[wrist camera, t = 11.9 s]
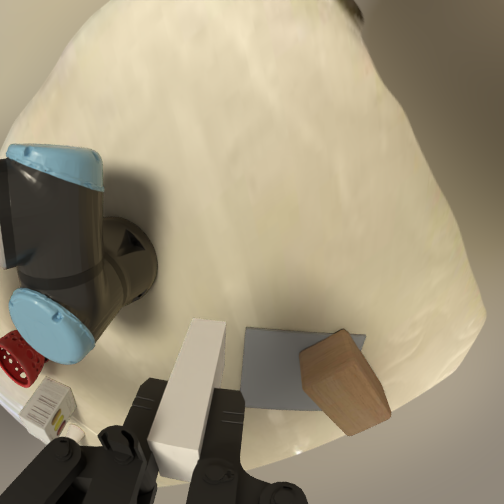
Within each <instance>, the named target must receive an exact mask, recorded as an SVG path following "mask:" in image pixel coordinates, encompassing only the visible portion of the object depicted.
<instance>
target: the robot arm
mask: <svg viewBox="0 0 504 504" xmlns="http://www.w3.org/2000/svg"><path fill="white" fill-rule="evenodd" d="M6 157H7V158H6V159H0V267H1V268H2V269H3V270H5V269H9V268H13V267H16V266H17V270H18V275H19V280H20V288H18V289H16V290H15V291H14V292H13V295H12V296H11V299H10V301H9V311H10V316H11V318H12V321H13V323H14V325H15V327H16V329H17V330H18V332H19V333H20V334H21V336H22V337H23V338H24V339H25V341H26V342H27V343H28V344H29V345H30V346H32V348H34V349H35V350H36V351H37V352H38V353H40V354H41V355H43V356H44V357H46V358H48V359H50V360H52V361H54V362H57V363H60V364H65V365H71V364H76V363H77V362H79V361H81V360H82V359H83V358H84V357H85V356H86V355H87V354H88V353H89V352H90V351H91V350H92V349H93V348H94V347H95V343H96V342H97V340H98V339H99V338H100V336H101V335H102V333H103V332H104V331H105V329H106V328H107V327H108V325H109V324H110V323H111V321H112V320H113V318H114V317H115V316H116V314H117V313H118V312H119V310H120V309H121V308H122V307H123V306H126V305H128V304H130V303H132V302H134V301H136V300H138V299H140V298H141V297H142V296H144V295H145V294H146V292H147V291H148V290H149V288H150V287H151V286H152V284H153V282H154V280H155V278H156V274H157V258H156V254H155V250H154V248H153V246H152V244H151V242H150V240H149V238H148V237H147V236H146V234H145V233H144V232H143V231H142V230H141V229H140V228H139V227H138V226H136V225H135V224H133V223H132V222H130V221H128V220H126V219H123V218H119V217H105V218H103V192H104V190H105V189H104V187H103V164H102V159H101V157H100V155H99V154H98V153H97V152H96V151H95V150H92V149H89V148H82V147H74V146H63V145H50V144H11V145H10V146H9V147H8V150H7V152H6ZM225 338H226V322H225V321H216V320H208V319H200V318H192V321H191V323H190V326H189V328H188V331H187V334H186V336H185V339H184V341H183V344H182V346H181V349H180V352H179V354H178V357H177V360H176V362H175V365H174V367H173V370H172V373H171V375H170V378H169V381H165V380H159V379H154V378H149V379H148V380H146V381H145V382H144V383H143V384H142V385H141V386H140V388H139V390H138V392H137V395H136V398H135V399H134V401H133V404H132V406H131V408H130V410H129V413H128V415H127V417H126V419H125V422H124V424H123V426H118V425H114V426H109V427H107V428H105V429H103V430H102V431H101V432H100V433H99V435H98V438H99V440H100V442H101V444H102V445H103V446H98V447H94V446H79V444H78V443H77V442H76V441H75V440H73V439H71V438H69V437H58V438H55V439H53V440H52V441H51V442H49V444H48V445H47V446H46V447H45V448H44V449H43V450H42V451H41V452H40V453H39V454H38V455H37V457H36V458H35V459H34V460H33V461H32V462H31V463H30V464H29V465H28V466H27V467H26V468H25V469H24V470H23V472H22V473H21V474H20V475H19V476H18V477H17V478H16V479H15V480H14V481H13V482H12V484H11V485H10V486H9V487H8V488H7V489H6V490H5V491H4V492H3V493H2V494H1V496H0V504H153V503H154V499H155V495H156V492H157V483H156V478H157V475H158V471H159V473H160V476H163V477H167V478H172V479H176V480H181V481H187V482H190V487H189V492H188V497H187V502H186V504H308V502H307V499H306V496H305V494H304V492H303V491H302V489H301V488H299V487H298V486H296V485H295V484H292V483H289V482H276V483H273V484H270V483H267V482H264V481H261V480H258V479H256V478H254V477H252V476H250V475H249V474H248V473H246V472H245V470H244V469H243V468H242V466H241V463H240V451H241V441H242V431H243V421H244V411H245V400H244V397H243V395H242V393H241V391H236V390H228V389H220V386H221V381H222V376H223V370H224V362H225Z"/></svg>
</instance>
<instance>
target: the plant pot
mask: <svg viewBox="0 0 504 504" xmlns="http://www.w3.org/2000/svg"><path fill="white" fill-rule="evenodd" d="M1 348H3V349H2V350H1ZM6 351H7V352H9V353H10V355H8V354H7V352H6ZM4 355H5V356H6V358H5V359H4ZM9 359H12V363H10V362H9ZM49 360H50V359H48V358H46V357H44V356H43V355H41V354H40V353H38V352H37V351H36V350H35V349H34V348H32V346H30V345H29V344H28V343H27V342H26V341H25V339H24V338H23V337H22V336H21V334H20V333H19V332H18V330H14V331H11V332H9V333H8V334H6V335H5V336H4V337H2V338H1V339H0V366H1V368H2V369H3V370H4V372H5V373H6V374H7V375H8V376H9V377H10V378H11V379H12V380H13V381H14V382H15V383H17V384H18V385H20V386H22V387H25V388H28V387H30V386H31V385H32V384H33V383H34V382H35V380H36V379H37V377H38V375H39V373H40V372H41V370H42V368H43V365H44V363H46V362H48V361H49ZM17 362H18V363H17ZM16 367H17V368H18V371H16V370H15V368H16ZM21 367H22V368H21ZM22 372H25V374H26V377H25V378H21V377H20V374H21V373H22ZM27 379H28V380H27Z"/></svg>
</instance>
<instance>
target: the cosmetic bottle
mask: <svg viewBox="0 0 504 504" xmlns="http://www.w3.org/2000/svg"><path fill="white" fill-rule="evenodd" d="M84 435H85V433H84V431H83V430H82V429H81V428H79V427H78V426H76V425H73V424H70V425H69V428H68V431H67V434H66V436H65V437H69V438H71V439H73V440H75V441H76V442H77V443H79V441H80V440H81V439H82V437H83V436H84Z"/></svg>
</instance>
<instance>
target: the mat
mask: <svg viewBox="0 0 504 504" xmlns="http://www.w3.org/2000/svg"><path fill="white" fill-rule="evenodd" d="M333 334H335V333H316V332H300V331H286V330H274V329H263V328H252V327H246V332H245V344H244V355H243V366H242V377H241V388H240V391H241V393H242V395H243V397H244V400H245V407H250V408H262V409H276V410H299V411H322V410H321V409H320V408H319V406H318V405H317V404H316V403H315V402H314V401H313V400H312V399H311V398H310V397H309V396H308V395H307V394H306V393H305V392H304V391H303V389H302V381H301V371H300V361H299V353H300V352H301V351H302V350H304V349H306V348H308V347H310V346H312V345H314V344H316V343H318V342H320V341H322V340H324V339H325V338H327V337H329V336H331V335H333ZM350 336H351V337H352V339H353V341H354V342H355V344H356V345H357V347H358V348H359V350H360V351H361V349H362V346H363V344H364V341H365V338H366V335H363V334H350Z"/></svg>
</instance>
